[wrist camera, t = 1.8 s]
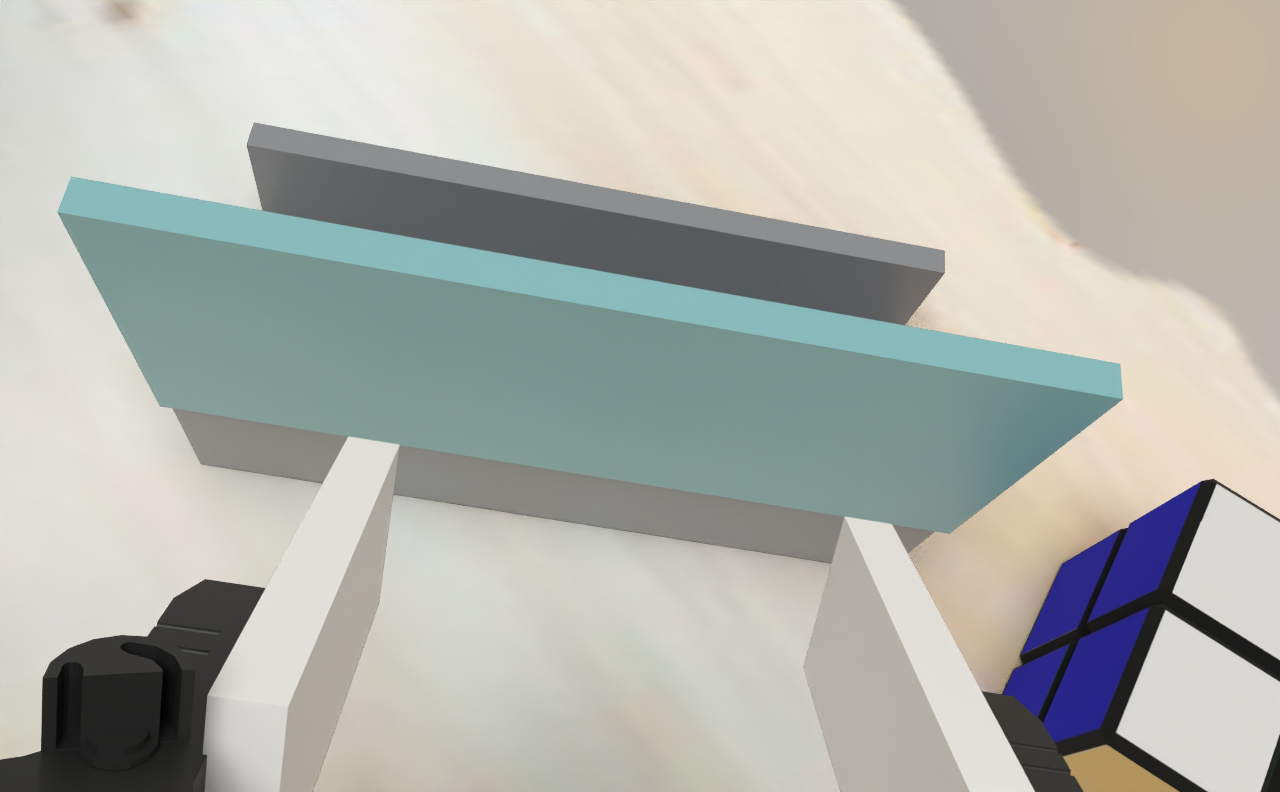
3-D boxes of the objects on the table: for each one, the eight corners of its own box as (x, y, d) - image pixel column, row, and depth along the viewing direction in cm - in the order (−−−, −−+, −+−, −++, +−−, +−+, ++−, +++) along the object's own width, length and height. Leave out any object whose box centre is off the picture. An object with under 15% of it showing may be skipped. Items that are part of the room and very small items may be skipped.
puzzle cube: (1061, 558, 46) (1210, 469, 37) (1285, 699, 45) (1493, 642, 36) (960, 778, 42) (1101, 737, 33) (1205, 939, 41) (1419, 941, 32)
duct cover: (949, 505, 39) (949, 533, 39) (169, 378, 37) (160, 406, 37) (1120, 363, 30) (1123, 399, 29) (71, 176, 27) (57, 212, 27)
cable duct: (885, 571, 45) (945, 522, 39) (200, 463, 42) (166, 396, 37) (889, 324, 50) (944, 250, 44) (274, 214, 47) (253, 122, 42)
